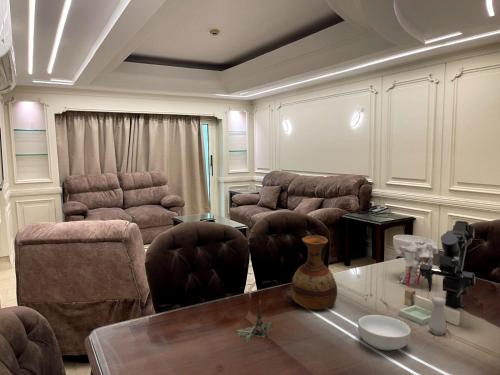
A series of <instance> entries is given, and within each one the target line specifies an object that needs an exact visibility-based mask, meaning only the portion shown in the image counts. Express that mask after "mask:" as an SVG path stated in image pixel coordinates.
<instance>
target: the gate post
mask: <svg viewBox="0 0 500 375" xmlns="http://www.w3.org/2000/svg"><path fill="white" fill-rule="evenodd" d="M413 294H415V295H417V293H416V290H415V289H411V288H407V289H405V290H404V303H403V304H404V305H405V306H407V307H410V306H412V299H413Z"/></svg>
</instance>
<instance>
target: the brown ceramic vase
mask: <svg viewBox="0 0 500 375" xmlns="http://www.w3.org/2000/svg"><path fill="white" fill-rule="evenodd" d="M301 241H302V242H303V243H304V245H305V246H306V247H307V260H306V261H305V263H302V265H300V266H299V267H298V268H297V270H296V271H295V273H294V275H293V277H292V279H291V283H290V284H291V285H290V295H291V298H292V300H293V301H294V302H295V303H296V304H297V305H300V306H301V307H303V308H306V309H311V310H321V309H327V308H330V307H331V306H333V305H334V303H336V301H337V297H338V286H337V282H336V280H335V278H334V274H333V273H332V272H331V270H330V268H329V267H328V266H327V265H325V258H326V257H325V256H326V253H327V252H326V250H327V243H328V242H329V239H328V238H327V237H326V236H322V235H316V234H315V235H307V236H305V237H302V238H301Z"/></svg>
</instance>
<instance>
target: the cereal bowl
mask: <svg viewBox="0 0 500 375" xmlns="http://www.w3.org/2000/svg"><path fill="white" fill-rule="evenodd" d="M357 328H358V333H359V335H360V337H361V338H362V340H363V341H365V342H366V343H367V344H368V345H370V346H372V347H373V348H376V349H378V350H381V351H394V350H400V349H402V348H404V347H406V346H408V345H407V344H408V343H409V342H410V339H411V334H412V333H411V327H410V326H409V325H407V323H406V322H403V321H402V320H399V319H397V318H394V317H392V316H391V317H390V316H387V315H381V314H369V315H363V316H362V317H359V319H358V322H357Z"/></svg>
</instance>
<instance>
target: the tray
mask: <svg viewBox="0 0 500 375" xmlns="http://www.w3.org/2000/svg"><path fill="white" fill-rule="evenodd" d="M431 314H432V312H431V311H429V310H426V309H424V308H421V307H418V306H416V305H414V306H410V307H409V306H407V307H405V308H402V309H399V310H398V317H402V318H404V319H406V320H409V321H412V322H413V323H416V324H418V325H421V326H424V325H429V321H430V318H431Z"/></svg>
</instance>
